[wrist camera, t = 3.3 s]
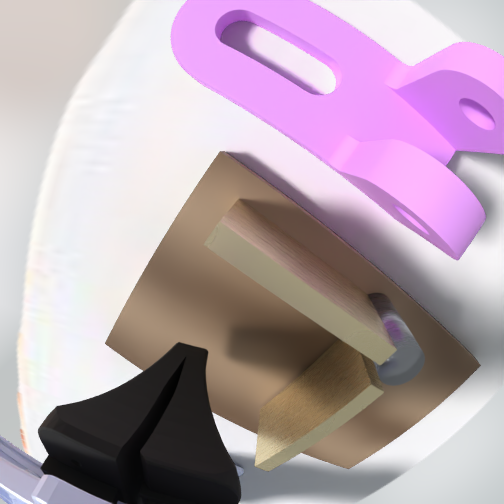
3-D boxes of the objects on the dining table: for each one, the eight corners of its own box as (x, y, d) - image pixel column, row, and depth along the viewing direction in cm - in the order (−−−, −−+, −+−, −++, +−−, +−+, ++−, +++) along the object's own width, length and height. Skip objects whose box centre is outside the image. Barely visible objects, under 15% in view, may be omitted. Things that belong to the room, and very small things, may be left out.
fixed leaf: (372, 332, 13) (398, 391, 10) (220, 223, 12) (193, 258, 8) (398, 305, 13) (433, 359, 9) (246, 188, 12) (229, 206, 8)
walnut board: (347, 459, 18) (348, 469, 17) (112, 334, 16) (105, 343, 15) (473, 356, 15) (480, 365, 14) (224, 151, 12) (220, 151, 12)
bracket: (453, 128, 11) (557, 127, 5) (394, 218, 13) (478, 277, 6) (226, -24, 10) (191, -114, 3) (158, 62, 11) (69, 9, 5)
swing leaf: (260, 409, 15) (254, 466, 12) (351, 326, 13) (371, 384, 9) (271, 414, 15) (268, 471, 12) (362, 334, 13) (384, 392, 10)
